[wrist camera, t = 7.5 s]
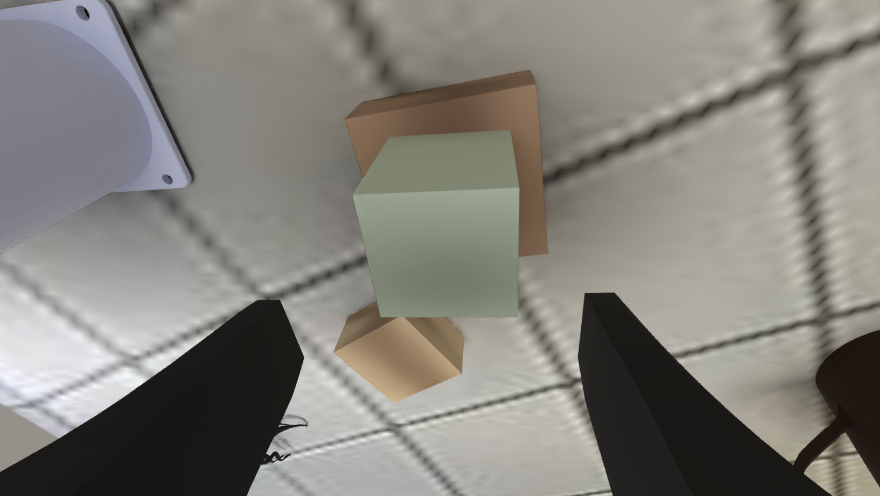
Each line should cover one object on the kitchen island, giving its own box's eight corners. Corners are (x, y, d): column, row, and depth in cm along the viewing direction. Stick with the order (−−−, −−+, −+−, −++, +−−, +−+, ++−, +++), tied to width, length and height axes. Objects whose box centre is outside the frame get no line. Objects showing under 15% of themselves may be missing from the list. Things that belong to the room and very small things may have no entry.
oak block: (402, 363, 26) (393, 402, 24) (349, 314, 25) (333, 352, 22) (464, 333, 24) (461, 373, 22) (411, 278, 23) (402, 315, 20)
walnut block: (403, 235, 21) (392, 270, 19) (364, 99, 18) (344, 119, 15) (540, 219, 20) (547, 253, 17) (528, 68, 16) (536, 84, 14)
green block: (405, 238, 18) (380, 317, 14) (389, 136, 15) (352, 194, 11) (510, 235, 17) (517, 317, 13) (510, 129, 15) (519, 187, 11)
